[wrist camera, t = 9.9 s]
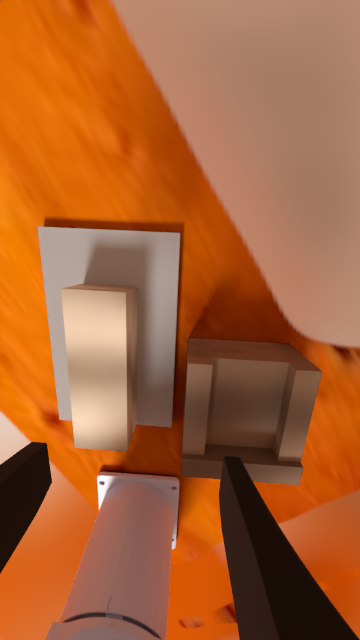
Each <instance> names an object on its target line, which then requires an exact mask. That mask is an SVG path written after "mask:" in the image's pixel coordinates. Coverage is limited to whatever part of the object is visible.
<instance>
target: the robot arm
mask: <svg viewBox="0 0 360 640" xmlns="http://www.w3.org/2000/svg"><path fill="white" fill-rule="evenodd" d="M51 483H52V479H51V472H50V464H49V457H48V450H47V443H38V442H31V443H30V444H29V445H27V446H26V447H24V448H23V449H21V450H20V451H19V452H17V453H16V454H15V455H13V456H12V457H10V458H9V459H8V460H6V461H5V462H4V463H2V464H1V465H0V573H1V571H2V570H3V568H4V566H5V565H6V563H7V562H8V560H9V558H10V557H11V555H12V553H13V552H14V550H15V549H16V547H17V545H18V543H19V542H20V540H21V539H22V537H23V535H24V534H25V532H26V530H27V529H28V527H29V525H30V524H31V522H32V520H33V519H34V517H35V515H36V513H37V512H38V510H39V508H40V506H41V504H42V502H43V500H44V497H45V496H46V493H47V491H48V489H49V487H50V485H51ZM179 486H180V480H179V479H178V478H177V477H168V476H155V475H142V474H128V473H115V472H100V473H99V474H98V476H97V487H98V502H99V513H98V515H97V518H96V521H95V524H94V527H93V529H92V532H91V535H90V538H89V540H88V543H87V546H86V549H85V552H84V554H83V557H82V560H81V563H80V565H79V568H78V571H77V574H76V577H75V579H74V582H73V585H72V588H71V591H70V593H69V596H68V599H67V602H66V605H65V607H64V610H63V613H62V616H61V619H60V622H53V623H52V625H51V627H50V630H49V632H48V635H47V637H46V640H166V631H167V615H168V598H169V597H168V596H169V582H170V566H171V550H172V549H174V548H175V547H176V535H177V519H178V502H179ZM219 503H220V515H221V526H222V533H223V539H224V545H225V551H226V557H227V563H228V569H229V575H230V581H231V587H232V593H233V599H234V605H235V611H236V617H237V624H238V630H239V637H240V640H360V639H359V638H358V637H357V636H356V634H355V633H354V632H353V631H352V629H351V628H350V627H349V625H348V624H347V623H346V622H345V620H344V619H343V617H342V616H341V615H340V613H339V612H338V611H337V609H336V608H335V607H334V605H333V604H332V603H331V602H330V600H329V599H328V597H327V596H326V595H325V593H324V592H323V590H322V589H321V588H320V586H319V585H318V584H317V582H316V581H315V579H314V578H313V577H312V575H311V574H310V572H309V571H308V570H307V568H306V567H305V565H304V564H303V562H302V561H301V559H300V558H299V557H298V555H297V553H296V552H295V551H294V549H293V547H292V546H291V544H290V543H289V541H288V540H287V538H286V537H285V535H284V534H283V532H282V530H281V529H280V527H279V526H278V524H277V522H276V521H275V519H274V517H273V516H272V514H271V512H270V511H269V509H268V507H267V506H266V504H265V502H264V501H263V499H262V497H261V496H260V494H259V492H258V490H257V488H256V487H255V485H254V483H253V481H252V479H251V477H250V476H249V474H248V472H247V470H246V468H245V466H244V464H243V462H242V460H241V459H240V458H239V457H231V456H224V457H223V466H222V474H221V482H220V490H219Z"/></svg>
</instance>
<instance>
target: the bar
mask: <svg viewBox="0 0 360 640" xmlns="http://www.w3.org/2000/svg"><path fill="white" fill-rule="evenodd" d="M61 294H62V306H63V317H64V329H65V340H66V352H67V363H68V375H69V386H70V398H71V410H72V421H73V433H74V444H75V448H86V449H99V450H112V451H124V452H127V451H128V448H129V445H130V442H131V439H132V436H133V433H134V430H135V427H136V424H137V287H136V286H119V285H103V284H86V283H83V284H78V285H74V286H70V287H65V288H61Z"/></svg>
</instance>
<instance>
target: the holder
mask: <svg viewBox="0 0 360 640" xmlns="http://www.w3.org/2000/svg"><path fill="white" fill-rule="evenodd" d="M321 374H322V371H321V370H319V369H318V368H317V367H316V366H315V365H313V364H312V363H311V362H310V361H309V360H308V359H306V358H305V357H304V356H303V355H302V354H301V353H299V352H298V351H297V350H296V349H295V348H293V347H292V346H291V345H290V344H288V343H271V342H254V341H236V340H219V339H202V338H188V351H187V368H186V384H185V401H184V418H183V440H182V465H181V476H185V477H199V478H212V479H221V474H222V466H223V457H224V456H231V457H239V458H240V459H241V460H242V462H243V464H244V466H245V468H246V470H247V472H248V474H249V476H250V477H251V479H252V481H253V482H265V483H278V484H291V485H299V483H300V479H301V475H302V471H303V466H302V464H301V463H300V462H301V457H302V453H303V449H304V445H305V441H306V436H307V432H308V428H309V424H310V420H311V416H312V411H313V407H314V403H315V399H316V395H317V391H318V386H319V382H320V378H321Z"/></svg>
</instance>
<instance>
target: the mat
mask: <svg viewBox="0 0 360 640" xmlns="http://www.w3.org/2000/svg"><path fill="white" fill-rule="evenodd" d="M38 235H39V244H40V253H41V261H42V270H43V279H44V288H45V296H46V305H47V314H48V323H49V331H50V340H51V349H52V358H53V366H54V375H55V384H56V393H57V401H58V410H59V419H60V420H72V410H71V398H70V386H69V375H68V363H67V352H66V340H65V329H64V317H63V306H62V294H61V288H65V287H70V286H74V285H78V284H83V283H86V284H103V285H119V286H136V287H137V424H136V425H145V426H159V427H172V414H173V391H174V369H175V346H176V324H177V301H178V279H179V256H180V233H171V232H149V231H127V230H105V229H83V228H61V227H38Z"/></svg>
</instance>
